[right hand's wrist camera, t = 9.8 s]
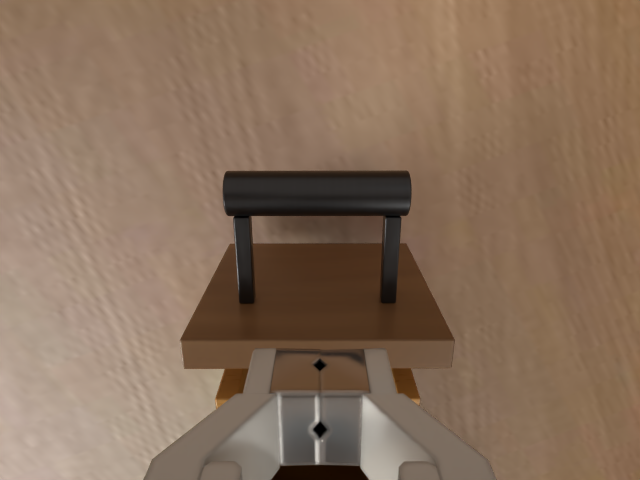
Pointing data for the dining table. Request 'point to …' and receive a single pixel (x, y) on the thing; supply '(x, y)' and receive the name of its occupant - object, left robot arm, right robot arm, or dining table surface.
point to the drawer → (316, 288)
